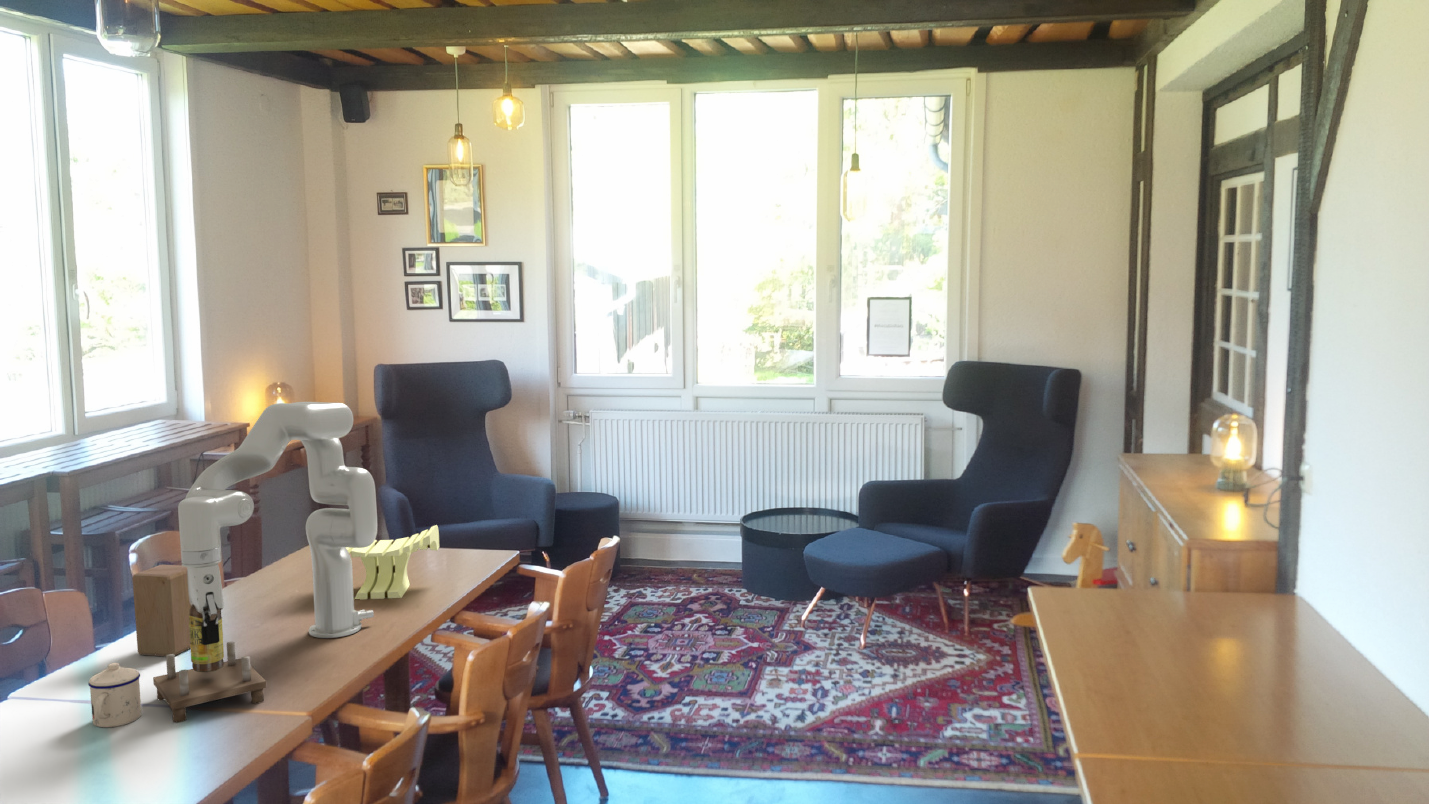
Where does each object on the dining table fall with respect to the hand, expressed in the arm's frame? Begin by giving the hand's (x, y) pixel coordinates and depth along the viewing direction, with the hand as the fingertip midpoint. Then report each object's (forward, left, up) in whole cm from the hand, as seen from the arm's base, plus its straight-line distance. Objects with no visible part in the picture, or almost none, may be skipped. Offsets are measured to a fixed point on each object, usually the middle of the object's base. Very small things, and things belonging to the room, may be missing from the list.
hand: (206, 638), depth 219 cm
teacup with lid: (+18, 0, -14) cm, 23 cm away
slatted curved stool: (-59, -55, -14) cm, 82 cm away
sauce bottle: (0, 0, -7) cm, 7 cm away
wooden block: (0, -40, -14) cm, 42 cm away
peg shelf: (0, 0, -13) cm, 13 cm away
